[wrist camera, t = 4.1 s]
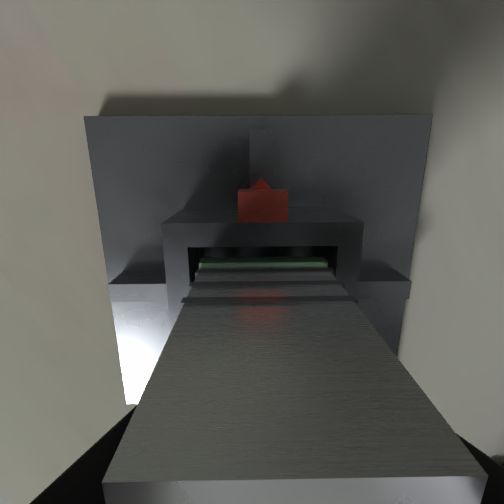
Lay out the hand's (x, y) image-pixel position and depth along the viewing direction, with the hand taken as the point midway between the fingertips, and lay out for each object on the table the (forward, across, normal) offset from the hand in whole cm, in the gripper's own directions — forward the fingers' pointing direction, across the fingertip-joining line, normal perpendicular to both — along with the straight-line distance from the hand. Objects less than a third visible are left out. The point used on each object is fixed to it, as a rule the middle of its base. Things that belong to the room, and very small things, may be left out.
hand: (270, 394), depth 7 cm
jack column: (+4, 0, 0) cm, 4 cm away
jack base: (+8, 0, 0) cm, 8 cm away
